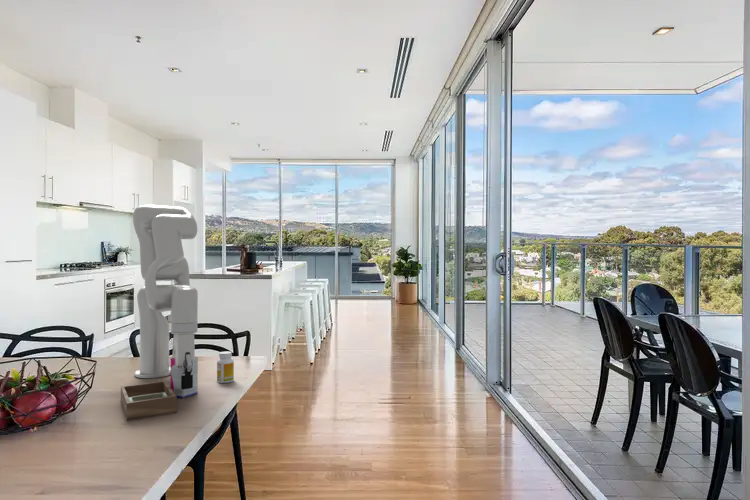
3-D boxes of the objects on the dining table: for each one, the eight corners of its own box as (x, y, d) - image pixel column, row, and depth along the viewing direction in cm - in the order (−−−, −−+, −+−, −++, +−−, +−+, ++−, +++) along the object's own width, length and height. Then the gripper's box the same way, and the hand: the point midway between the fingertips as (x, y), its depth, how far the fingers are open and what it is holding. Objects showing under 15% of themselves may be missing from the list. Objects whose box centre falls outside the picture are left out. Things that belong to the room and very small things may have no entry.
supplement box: (198, 393, 149) (198, 356, 149) (183, 398, 144) (183, 360, 144) (184, 391, 152) (184, 354, 152) (169, 396, 146) (169, 358, 146)
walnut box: (120, 402, 140) (120, 386, 140) (165, 395, 147) (165, 380, 147) (127, 420, 125) (127, 403, 125) (176, 412, 132) (176, 396, 132)
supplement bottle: (236, 379, 166) (236, 351, 166) (229, 383, 160) (230, 354, 160) (221, 378, 166) (221, 350, 166) (214, 383, 161) (214, 353, 161)
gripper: (166, 325, 153) (166, 380, 153) (176, 332, 138) (176, 394, 138) (191, 323, 157) (190, 377, 157) (203, 330, 142) (203, 390, 142)
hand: (184, 384), depth 148 cm, fingers closed on supplement box, 7 cm apart
